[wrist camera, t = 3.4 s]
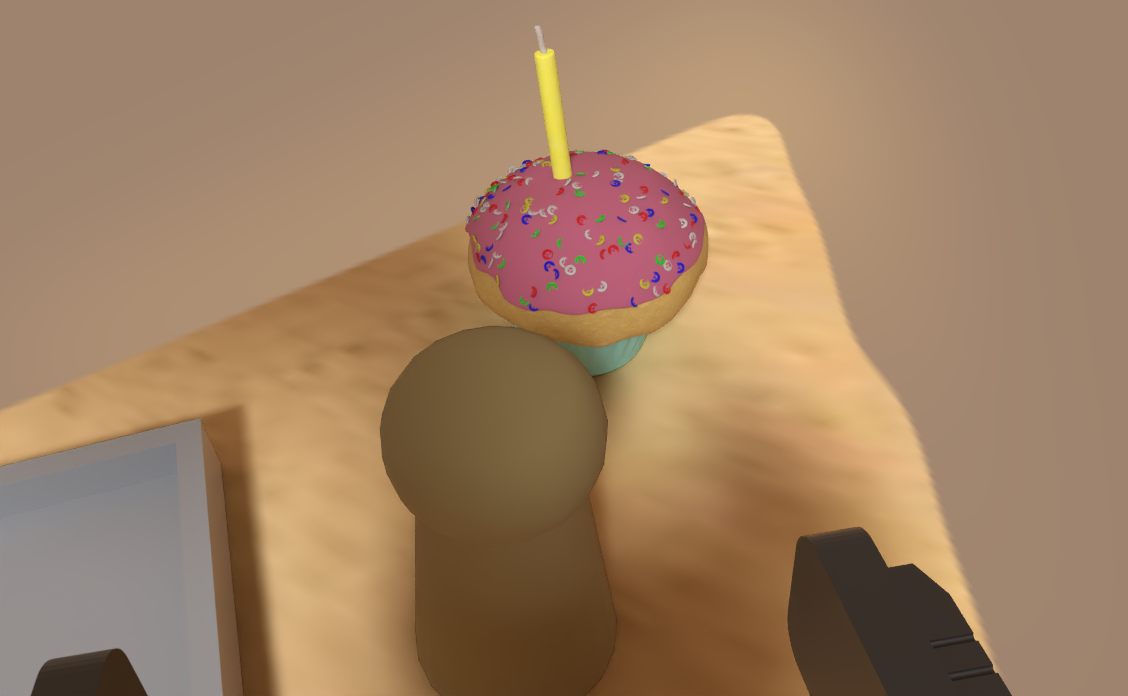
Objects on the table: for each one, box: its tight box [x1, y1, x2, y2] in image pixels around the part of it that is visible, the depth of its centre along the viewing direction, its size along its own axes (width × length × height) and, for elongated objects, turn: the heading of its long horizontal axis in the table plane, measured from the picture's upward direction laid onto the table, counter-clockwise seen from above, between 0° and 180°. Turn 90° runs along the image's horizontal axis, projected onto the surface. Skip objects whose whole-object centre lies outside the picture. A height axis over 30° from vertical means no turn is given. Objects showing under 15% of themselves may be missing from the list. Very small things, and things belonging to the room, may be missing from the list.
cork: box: [380, 326, 617, 696], centre depth 25 cm, size 6×6×11 cm
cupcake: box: [465, 25, 708, 376], centre depth 33 cm, size 9×8×12 cm
